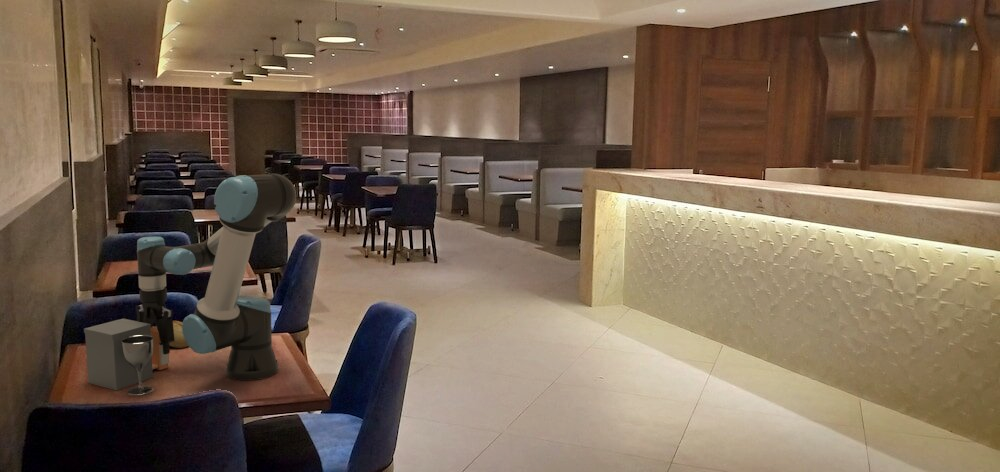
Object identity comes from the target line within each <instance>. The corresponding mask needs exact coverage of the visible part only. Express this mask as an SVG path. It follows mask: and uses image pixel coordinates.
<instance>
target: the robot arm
mask: <svg viewBox="0 0 1000 472" xmlns="http://www.w3.org/2000/svg"><path fill="white" fill-rule="evenodd" d="M213 199H214V200H213V204H214V205H215V207H214V209H215V212H216V214H217V216H218V217H219V218H218V219H219V222H220V223H221V225H222V227H221V228H219V229H218V230H217V231H216V232H214V233H213V234H212V235H211V236H209V238H207V239H205V240H204V241H203V242H199V243H198V242H197V243H192V244H186V245H180V246H167V245H166V243H165V239H164V237H162V236H143V237H140V238H139V239H137V242H136V243H137V244H136V249H137V250H136V255H137V256H136V257H137V260H136V261H137V269H138V270H137V271H138V288H139V289H140V290H139V292H138V293H139V301H140V302H141V303H142V304H140V305H135V311H136V321H138V322H143V323H147V324H151V327H153V326H154V324H155V327H156V326H157V329H158V331H159V337H160V341H161V343H159V352H160V365H165V364H167V363H168V364H169V363H170V346H169V343H170V342H173V341H174V340H175V339H174V329H173V321H174V320H173V316H174V310H173V309H169V308H167V306H166V304H165V303H166V301H167V300H168V289H167V273H169V274H171V275H181V276H182V275H188V274H189V273H190V272H192V271H193V270H199V269H202V268H203V269H204V268H209V267H211V268H212V269H211V272H210V277H209V280H208V284H207V287H206V291H205V293H204V294H205V295H204V297H202V298H200V299H199V300H198V302H197V303H196V307H195V310H194V313H190V314H189V315H187V316H185V317H184V319H182V320H183V321H182V323H183V324H182V331H183V335H184V338H185V340H186V342H187V344H188V346H187V347H189V348H190V349H191V350H192V351H193V352H194V353H197V354H199V355H205V354H209V353H211V354H212V353H215V352H217V351H220V350H223V349H226V348H229V347H230V348H231V349H230V351H229V357H228V361H227V363H226V366H225V375H226V376H227V377H228V378H230V379H231V380H232V379H233V380H238V381H239V380H240V381H254V380H261V379H266V378H269V377H272V376H274V375H276V374H277V373H278V372H279V361H278V360H277V358H276V355H275V351H274V349H273V345H272V342H273V341H272V340H273V339H272V311H271V310H272V309H271V302H270V301H269V300H268V299H266V298H265V297H259V296H250V295H249V296H248V295H245V296H243V295H242V296H241V295H240V293H241V292H240V291H241V288H242V284H243V281H244V277H245V274H246V270H247V267H248V263H249V260H250V256H251V252H252V248H253V245H254V241H255V238H256V235H257V234H258V233H261V232H262V231H263V230H264V228H266V227H267V226H268V225H269V224H270V223H272V222H278V221H280V220H281V219H283V218H284V217H286V215H288V214H289V213H290V212H291V211H292V210H293V208H294V207H295V205H296V202H297V190H296V188H295V186H294V184H293V183H292V181H291V180H289V179H288V178H287V177H286V176H284V175H282V174H279V173H265V174H263V173H262V174H253V175H246V174H244V175H236V176H231V177H228V178H226V179H224V180H222V182H221V183H220V184H219V185H218V187H216V191H215V193H214V198H213ZM164 339H165V340H164Z"/></svg>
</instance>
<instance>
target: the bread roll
mask: <svg viewBox="0 0 1000 472" xmlns="http://www.w3.org/2000/svg"><path fill="white" fill-rule="evenodd" d="M182 324H183V321H179V320H173V329H174V339H175V340H174V341H173V342H170V343H169V347H172V348H176V349H184V348H187V347H189V346H188V344H187V342H186V340H185V338H184V335H183V331H182ZM155 327H157V326H156V325H155Z"/></svg>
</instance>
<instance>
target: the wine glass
mask: <svg viewBox="0 0 1000 472" xmlns="http://www.w3.org/2000/svg"><path fill="white" fill-rule="evenodd" d="M122 351H123V355H124V358H125V360H126V361H127V362H128V363H129V364H130V365H131V366H132V367H134V369H135V370H136V372H137V375H138V383H137V384H138V385H137V386H135V387H131V388H130V389H128V390H127V391H126V394H127V395H129V396H143V395H147V394H150V393H152V392H154V391H155V388H154V387H153V386H150V385H142V384H143V383H142V382H143V381H142V382H141V377H142V370H143V368H144V366H145V365H146V364H147V363H148V361H149V360H150V359H151V357H152V353H153V337H152V336H149V335H136V336H130V337H127V338H124V339H122Z"/></svg>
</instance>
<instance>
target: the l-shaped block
mask: <svg viewBox="0 0 1000 472" xmlns="http://www.w3.org/2000/svg"><path fill="white" fill-rule="evenodd" d="M150 335H151V336H152V337H153V353H152V365H153V369H152V370H158V371H162V370H164V369H167V368H169V363H167V364H165V365H160V352H159V343H161V341H160V337H159V331H158V329H157V327H156V326H154V325H153V327H151V328H150ZM164 340H165V339H164Z"/></svg>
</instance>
